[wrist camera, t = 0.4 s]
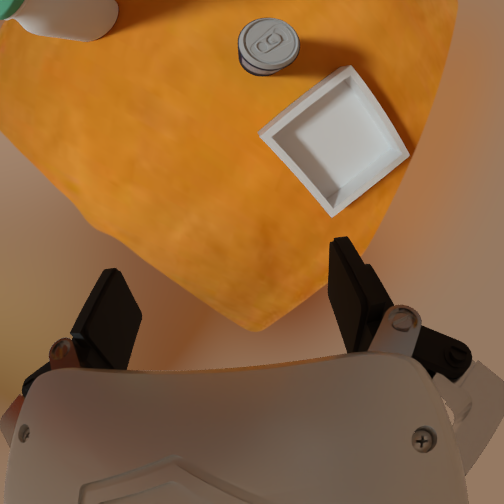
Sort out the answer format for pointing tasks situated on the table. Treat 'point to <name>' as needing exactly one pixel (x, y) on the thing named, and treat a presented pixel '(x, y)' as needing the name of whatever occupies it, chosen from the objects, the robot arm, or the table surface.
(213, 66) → the table surface
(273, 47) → the beverage can
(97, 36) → the milk bottle
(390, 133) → the box
